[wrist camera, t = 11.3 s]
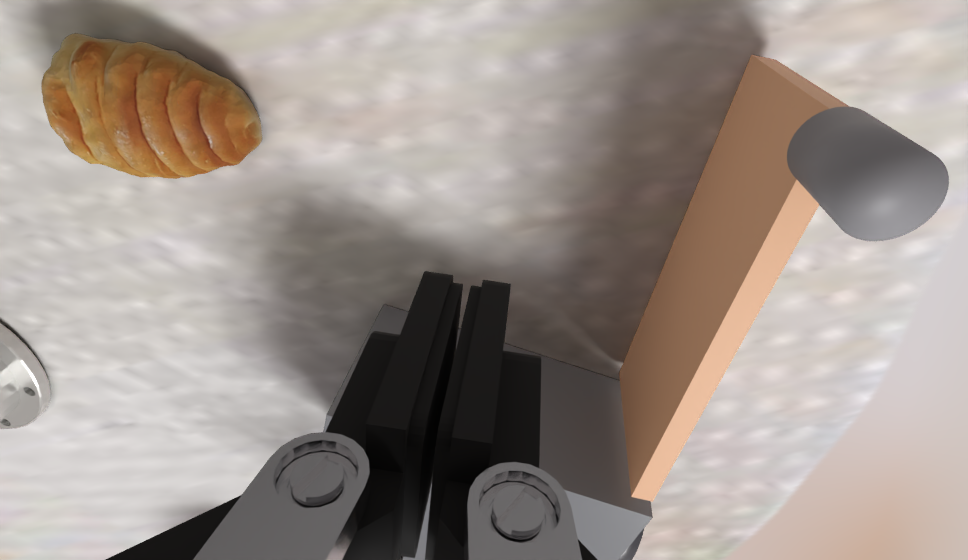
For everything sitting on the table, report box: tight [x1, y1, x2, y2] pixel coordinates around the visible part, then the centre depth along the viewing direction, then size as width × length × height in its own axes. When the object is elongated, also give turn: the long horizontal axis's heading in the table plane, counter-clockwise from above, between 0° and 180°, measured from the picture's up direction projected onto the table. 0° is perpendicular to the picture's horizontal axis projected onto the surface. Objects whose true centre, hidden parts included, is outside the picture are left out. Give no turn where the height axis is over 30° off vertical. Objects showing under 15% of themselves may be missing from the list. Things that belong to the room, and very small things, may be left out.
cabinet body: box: [323, 304, 652, 560], centre depth 32 cm, size 18×12×10 cm
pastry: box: [42, 33, 262, 179], centre depth 27 cm, size 9×7×4 cm
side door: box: [619, 55, 949, 502], centre depth 22 cm, size 18×2×12 cm, turn 170°
